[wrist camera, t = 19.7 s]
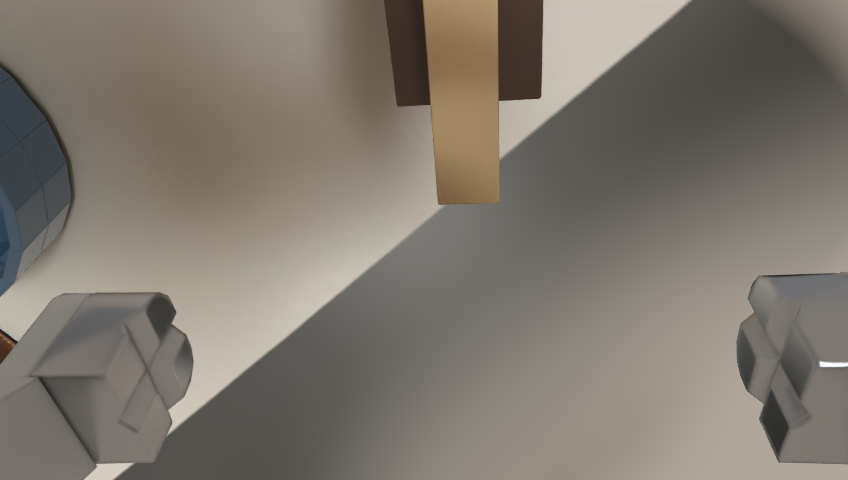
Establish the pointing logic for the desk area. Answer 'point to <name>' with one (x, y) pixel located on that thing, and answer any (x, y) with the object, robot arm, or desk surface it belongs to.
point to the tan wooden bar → (464, 98)
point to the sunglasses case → (5, 345)
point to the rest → (515, 50)
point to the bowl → (27, 183)
